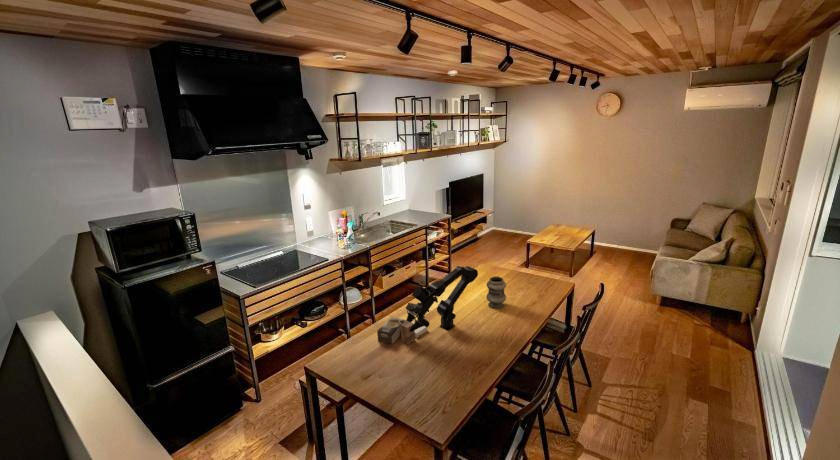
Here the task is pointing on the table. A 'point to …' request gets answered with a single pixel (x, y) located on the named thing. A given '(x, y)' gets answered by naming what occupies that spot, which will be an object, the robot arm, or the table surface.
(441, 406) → the table surface
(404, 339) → the walnut block
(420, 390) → the table surface
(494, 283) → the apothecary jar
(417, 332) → the base plinth
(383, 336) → the coffee box
